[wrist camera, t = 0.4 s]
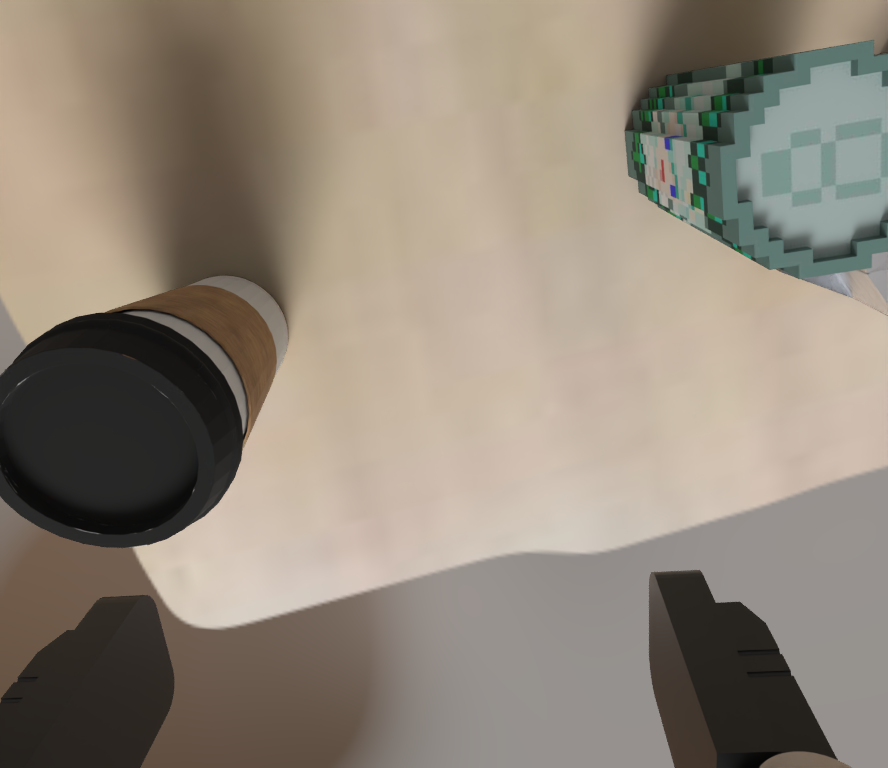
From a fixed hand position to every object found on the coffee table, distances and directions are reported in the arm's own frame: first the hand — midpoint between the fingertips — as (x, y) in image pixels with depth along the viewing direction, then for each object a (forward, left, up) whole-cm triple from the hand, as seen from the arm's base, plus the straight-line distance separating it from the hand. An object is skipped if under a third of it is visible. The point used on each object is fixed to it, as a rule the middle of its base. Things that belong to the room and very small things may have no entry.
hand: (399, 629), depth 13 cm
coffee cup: (+6, -10, -27) cm, 30 cm away
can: (-10, +8, -27) cm, 30 cm away
